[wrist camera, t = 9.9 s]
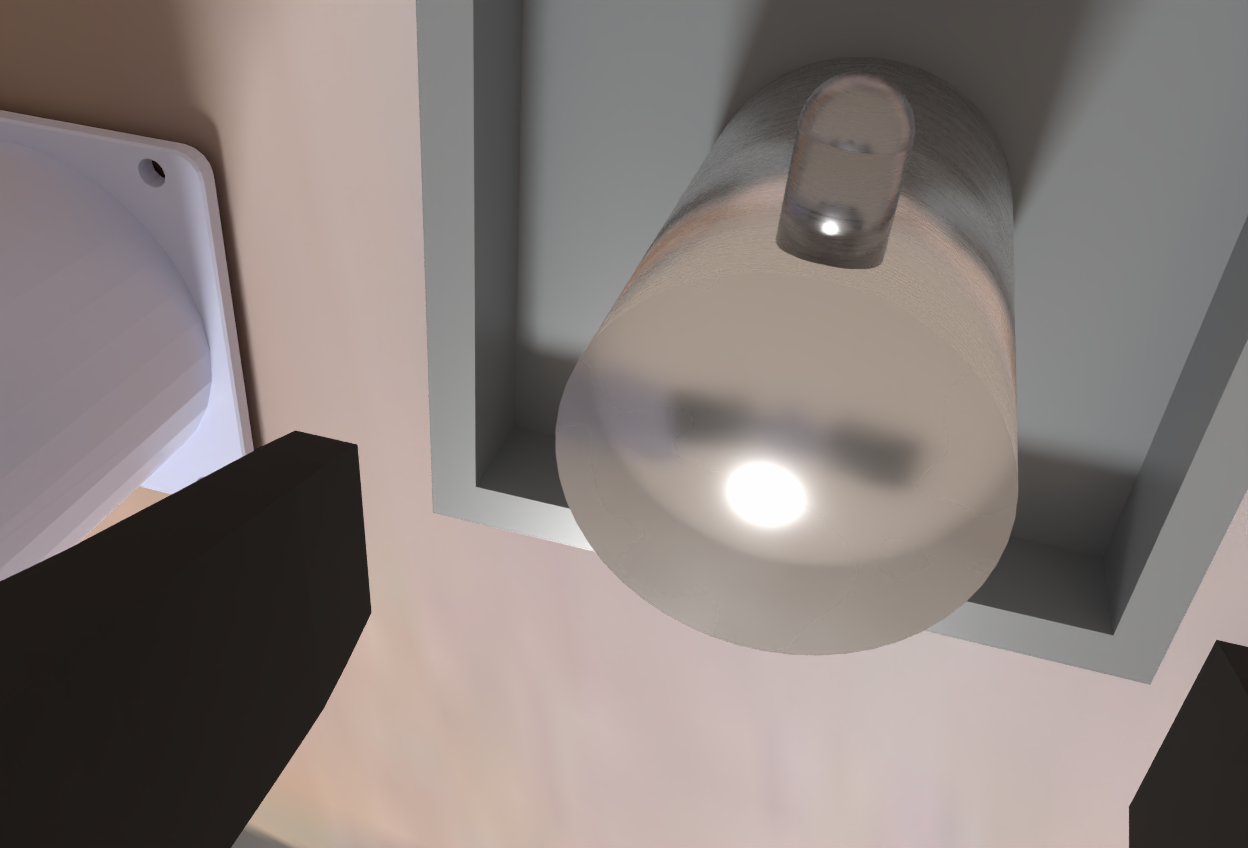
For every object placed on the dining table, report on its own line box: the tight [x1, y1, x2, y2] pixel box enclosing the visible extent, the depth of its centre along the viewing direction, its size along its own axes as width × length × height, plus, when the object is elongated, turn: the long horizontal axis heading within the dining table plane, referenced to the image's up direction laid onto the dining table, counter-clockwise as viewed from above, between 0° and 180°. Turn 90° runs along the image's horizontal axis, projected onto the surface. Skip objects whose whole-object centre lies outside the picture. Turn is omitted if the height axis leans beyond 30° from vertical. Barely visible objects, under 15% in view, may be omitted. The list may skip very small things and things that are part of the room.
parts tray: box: [416, 0, 1248, 684], centre depth 16 cm, size 12×12×2 cm
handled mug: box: [556, 57, 1018, 655], centre depth 13 cm, size 4×6×7 cm
